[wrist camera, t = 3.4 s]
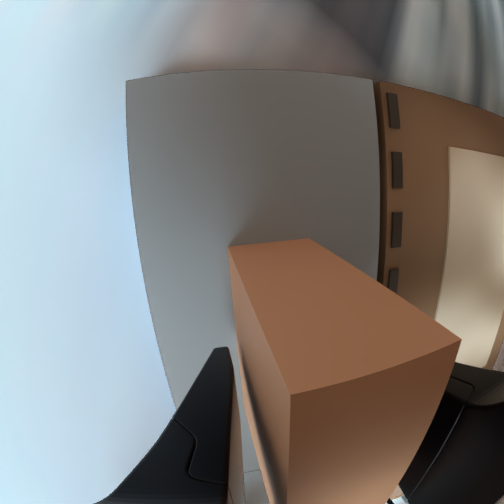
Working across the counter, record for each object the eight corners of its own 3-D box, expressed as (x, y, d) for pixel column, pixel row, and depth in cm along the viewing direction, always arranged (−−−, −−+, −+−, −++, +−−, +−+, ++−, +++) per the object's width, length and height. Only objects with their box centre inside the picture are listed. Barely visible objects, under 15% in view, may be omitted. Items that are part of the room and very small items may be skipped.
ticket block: (475, 369, 15) (488, 381, 14) (342, 427, 14) (353, 447, 12) (508, 128, 11) (528, 128, 9) (357, 90, 9) (381, 80, 8)
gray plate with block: (337, 429, 14) (397, 535, 6) (198, 455, 12) (214, 582, 5) (350, 89, 9) (527, 29, 2) (135, 93, 8) (25, -47, 1)
